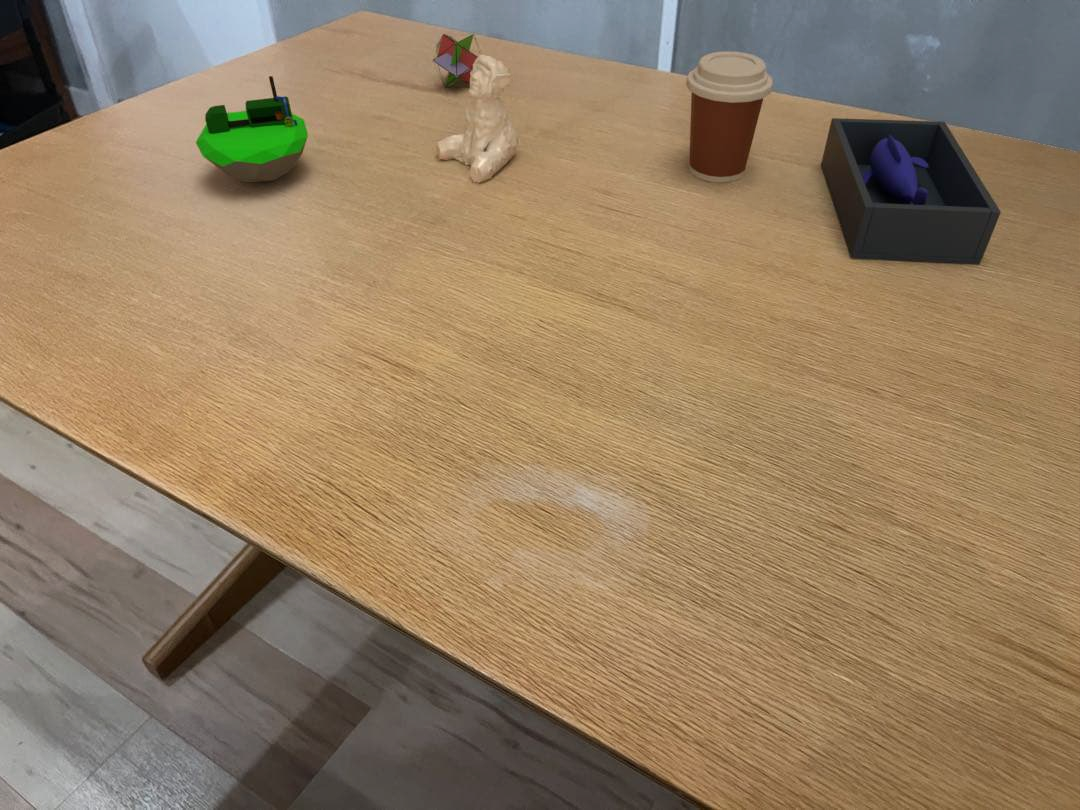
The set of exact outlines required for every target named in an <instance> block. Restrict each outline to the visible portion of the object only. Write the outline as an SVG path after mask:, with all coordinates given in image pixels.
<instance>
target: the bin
mask: <svg viewBox="0 0 1080 810" xmlns="http://www.w3.org/2000/svg"><path fill="white" fill-rule="evenodd" d="M889 135H891V136H892V137H893V139H895V140H897V141H899V142H900V143H901V144H902V145H903V146H904V147H905V149H906V150H907V152H908V153H909V155H910V157H919V158H921V159H923V160H925V161H926V162H927V164H928V166H929V167H928V168H927V167H921V166H918V165H915V164H913V166H914V169H915V172H916V176H917V181H918V187H917V188H920V187H923V188H925V189H926V190H927V193H928V194H927V199H926V203H925V205H913V202H911V201H910V202H911V204H910V205H909V204H903V203H902V202H901V199H900V198H898V197H896V196H894V195H892V194H891V193H890V192H888V191H887V190H886V189H884V188H883V187H882V186H881V184H880V183H879V182H878V181H877V180H876V178H875V176H874V175H873V173H872V175H871V177H870V178H869V180H868V181H867V182H866V184H865V183H864V181H863V178H862V175H861V173H863V172H865V171H867V170H870V169H871V166H870V159H871V154H872V152H873V149H874V147H875V146H876V145H877V143H878V142H879V141H881V140H882V139H885V138H888V136H889ZM820 166H821V169H822V173H823V175H824V176H823V177H824V179H825V182H826V185H827V189H828V191H829V194H830V198H831V200H832V204H833V206H834V210H835V213H836V216H837V219H838V222H839V225H840V228H841V231H842V234H843V238H844V240H845V244H846V247H847V250H848V253H849V257H850V258H851V259H863V260H882V261H883V260H885V261H902V262H903V261H905V262H924V263H925V262H926V263H948V264H968V265H980V264H981V262H982V260H983V257H984V255H985V252H986V250H987V247H988V245H989V242H990V240H991V238H992V235H993V233H994V231H995V228H996V226H997V223H998V220H999V218H1000V215H1001V213H1002V212H1001V210H1000V208H999V206H998V205H997V203H996V202H995V200H994V198H993V197H992V195H991V194H990V192H989V191H988V189H987V187H986V186H985V184H984V183H983V181H982V180H981V177H980V176H979V174H978V173H977V171H976V170H975V167H973V165H972V163H971V161H970V160H969V159H968V157H967V156H966V154H965V152H964V150H963V149H962V147H961V145H960V144H959V143H958V141H957V139H956V137H955V136H954V134H953V132H952V131H951V130H950V128H949V126H948V125H947V123H946V121H935V120H933V121H932V120H931V121H930V120H903V119H900V120H899V119H898V120H897V119H872V118H871V119H869V118H867V119H866V118H839V117H832V118H831V120H830V124H829V129H828V133H827V137H826V142H825V145H824V149H823V155H822V159H821V163H820Z"/></svg>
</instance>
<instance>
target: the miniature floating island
mask: <svg viewBox="0 0 1080 810" xmlns="http://www.w3.org/2000/svg"><path fill="white" fill-rule="evenodd" d="M268 81H269V85H270V88H271V93H272V97H268V98H260V99H259V98H258V99H251V100H246V101H245V110H241V111H231V112H227V109H226V105H225V104H219V105H214V106H211V107H209V108H208V110H207V111H206V113H205V116H204V117H205V118H204V120H205V123H206V124H205V125H204V127H203V128H202V131H201V132H200V133H199V136H198V138H197V139H196V141H195V144H196V146H197V148H198V150H199V152H200V153H201V155H202V157H203V158H204V159H206V160H207V161H208V162H210V163H211V164H213V166H215V167H217V168H218V169H219V170H221V171H222V172H223V173H225V174H226V175H227V176H228V177H232V178H234V179H236V180H239V181H242V182H244V183H247V184H248V183H257V182H258V183H259V182H268V181H276V180H277V179H279V178H281V177H282V176H283V175H285V174H287V173H288V172H290V171H291V170H292V169H293V167H294V166H295V164H296V163H297V162H298V160H299V159H300V158H301V156H302V155H303V152H304V150H305V146H306V143H307V140H308V135H309V133H308V130H307V125H306V122H305V119H304V118H302V117H300V116H298V115H296V114H294V113H292V109H291V104H290V99H289V97H288V96H286V95H285V96H278V94H277V90H276V85H275V81H274V77H273V76H272V75H270V76H268Z"/></svg>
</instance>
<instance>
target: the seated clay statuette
mask: <svg viewBox="0 0 1080 810" xmlns="http://www.w3.org/2000/svg"><path fill="white" fill-rule="evenodd" d="M477 56H478V57H477V59H476V60H475V63H474V64H473V70H472V71H471V72H470V75H471V77H470V85H469V89H468V93H467V94H468V95H469V97H468V101H467V107H466V108H465V109H464V111H463V116H464V121H465V125H464V127H465V131H464V133H459V134H452V135H449V136H444V138H443V139H441V140H439V141H438V140H437V141H436V142H435V149H436V153H437V154H436V155H437V157H438V160H444V161H447V160H456V161H458V162H460V163H462V164H464V165H465V166H469V167H470V169H469V175H470V178H471V179H472V181H473V183H477V184H480V183H484V182H486V181H487V180H492V177H493V176H494V175H495V174H496V173H498V171H499V170H502V168H503V167H504V166H506V165H507V163H508V162H509V161H510V160H511V159H512V158H513V157H514V155H515V154H516V149H517V147H518V145H519V139H520V136H519V134H518V133H517V131H516V128H515V126H513V122H512V120H510V116H509V114H508V113H509V111H508V109H507V107H506V106H505V104H504V101H503V100H502V99H501V98H500V97H501V96H502V94H503V93H504V92H505V89H506V88H508V87H509V86H510V85H511V84H512V82H513V74H512V72H511V73H510V72H509V70H508V67H506V66H505V64H504V63H503V62H502V61H501V60H497V58H496V57H492V56H491V55H485V54H483V53H482V54H481V53H480V54H478V55H477Z"/></svg>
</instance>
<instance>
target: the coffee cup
mask: <svg viewBox="0 0 1080 810" xmlns="http://www.w3.org/2000/svg"><path fill="white" fill-rule="evenodd" d="M766 68H767V64H766V63H765V61H764V60H763V59H762V58H761V57H758V56H756V55H754V54H752V53H751V54H749V53H746V52H742V51H741V52H740V51H731V50H728V51H727V50H726V51H716V52H715V51H714V52H711V53H708V54H706V55H703V56H701V58H700V59H699V61H698V63H697V66H695V68H694V69H692V70H691V71H689V73H688V74H687V77H686V81H685V86H686V87H687V89H688V90H689V92H691V100H690V123H689V124H690V126H689V127H690V128H689V129H690V130H689V156H688V157H689V158H688V160H689V162H688V170H689V173H690V174H692V175H693V176H694V177H696V178H698V179H700V180H704V181H706V182H713V183H731V182H735V181H737V180H740V179H741V178H742V177H743V176H745V174H746V170H747V169H746V168H747V164H748V160H749V157H750V152H751V148H752V144H753V140H754V137H755V133H756V129H757V125H758V120H759V118H760V115H761V114H760V113H761V110H762V105H763V102H764V98H766V97H767V96H769V95H771V94H772V90H773V85H774V79H773V77H771V75H770V74H769V73H768V72H767V71H766Z"/></svg>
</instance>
